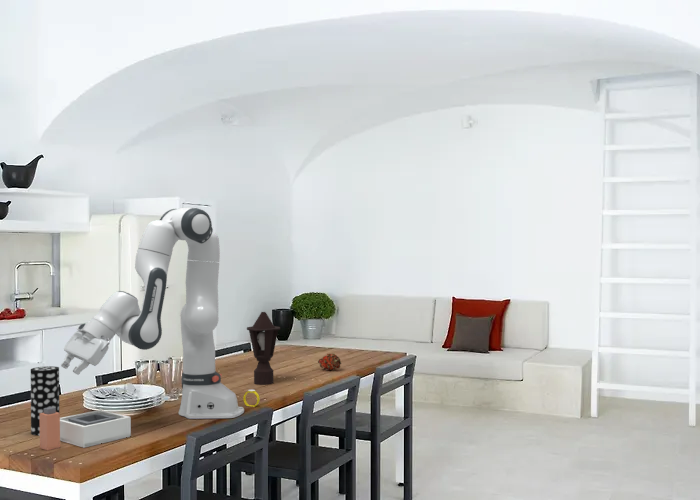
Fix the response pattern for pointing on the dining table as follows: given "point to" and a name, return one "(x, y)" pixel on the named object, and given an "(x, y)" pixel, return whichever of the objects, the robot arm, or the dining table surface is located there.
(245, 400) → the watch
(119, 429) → the walled box
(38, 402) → the spotted tube
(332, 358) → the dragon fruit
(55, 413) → the connector
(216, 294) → the robot arm
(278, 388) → the dining table surface
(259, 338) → the lantern
